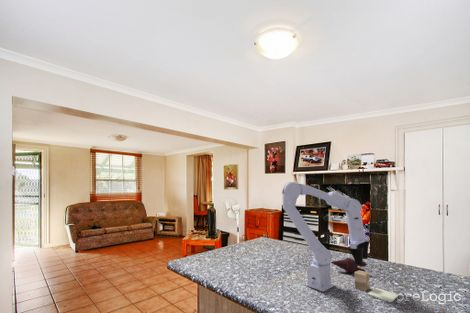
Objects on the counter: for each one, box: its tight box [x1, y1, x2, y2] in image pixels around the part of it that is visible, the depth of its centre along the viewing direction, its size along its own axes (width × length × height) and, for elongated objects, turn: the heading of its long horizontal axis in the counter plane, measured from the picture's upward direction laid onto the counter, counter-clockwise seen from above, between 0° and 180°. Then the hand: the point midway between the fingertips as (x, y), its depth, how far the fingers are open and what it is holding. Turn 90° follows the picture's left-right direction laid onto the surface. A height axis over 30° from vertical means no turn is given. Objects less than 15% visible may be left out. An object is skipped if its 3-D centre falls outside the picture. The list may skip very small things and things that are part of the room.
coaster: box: [367, 287, 400, 304], centre depth 96 cm, size 8×8×1 cm
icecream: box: [330, 256, 367, 274], centre depth 120 cm, size 7×7×15 cm
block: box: [354, 270, 371, 292], centre depth 103 cm, size 4×4×6 cm
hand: (362, 261), depth 105 cm, fingers open, 7 cm apart
